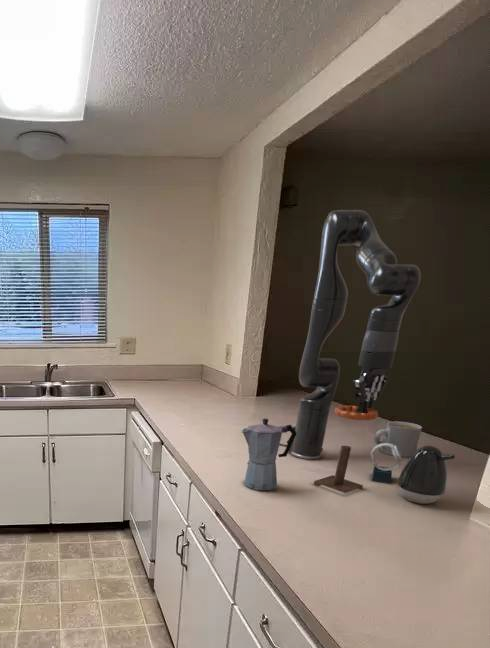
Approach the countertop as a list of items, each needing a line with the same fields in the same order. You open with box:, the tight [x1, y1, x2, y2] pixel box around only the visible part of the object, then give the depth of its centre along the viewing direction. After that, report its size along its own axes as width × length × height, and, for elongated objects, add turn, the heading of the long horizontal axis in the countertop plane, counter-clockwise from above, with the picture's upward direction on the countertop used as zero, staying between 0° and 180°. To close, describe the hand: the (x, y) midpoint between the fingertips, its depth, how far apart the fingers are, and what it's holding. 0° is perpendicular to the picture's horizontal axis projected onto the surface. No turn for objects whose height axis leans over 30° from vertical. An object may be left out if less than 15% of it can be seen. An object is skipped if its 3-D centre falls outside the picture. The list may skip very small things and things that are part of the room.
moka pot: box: [241, 418, 297, 491], centre depth 123 cm, size 10×15×20 cm, turn 95°
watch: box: [370, 443, 403, 484], centre depth 129 cm, size 6×8×11 cm
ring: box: [333, 405, 379, 421], centre depth 116 cm, size 10×10×2 cm
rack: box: [313, 445, 364, 494], centre depth 123 cm, size 9×9×12 cm
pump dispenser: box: [396, 445, 456, 505], centre depth 114 cm, size 10×10×15 cm
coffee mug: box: [374, 421, 423, 458], centre depth 153 cm, size 13×10×10 cm
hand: (363, 413), depth 118 cm, fingers closed on ring, 2 cm apart
